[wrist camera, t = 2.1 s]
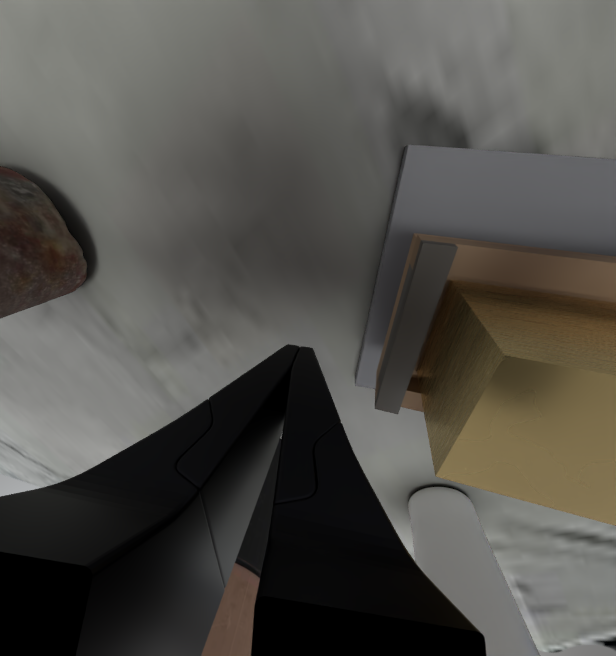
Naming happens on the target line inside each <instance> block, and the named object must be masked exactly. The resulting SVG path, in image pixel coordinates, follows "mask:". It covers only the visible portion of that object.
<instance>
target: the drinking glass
mask: <svg viewBox="0 0 616 656" xmlns="http://www.w3.org/2000/svg"><path fill="white" fill-rule="evenodd" d="M408 510H409V516H410V522H411V528H412V537H413V547H414V557H415V562H416V564H417V565H418V566H419V567H420V569H421V570H422V571H423V572H424V574H425V575H426V576H427V577H428V578H429V579H430V580H431V581H432V582H433V583H434V584H435V585H436V586H437V587H438V588H439V590H440V591H441V592H442V593H443V594H444V595H445V596H446V597H447V598H448V599H449V600H450V601H451V602H452V603H453V604H454V605H455V606H456V607H457V608H458V609H459V610H460V611H461V612H462V613H463V614H464V615H465V617H466V618H467V619H468V620H469V621H470V622H471V623H472V624H473V625H474V626H475V627H476V628H477V629H478V630H479V631H480V632H481V633H482V634H483V635H484V638H485V645H486V656H540V654H539V652H538V650H537V648H536V645H535V643H534V641H533V639H532V637H531V634H530V632H529V630H528V628H527V626H526V623H525V621H524V619H523V617H522V615H521V613H520V610H519V608H518V606H517V604H516V602H515V599H514V597H513V595H512V593H511V591H510V588H509V586H508V584H507V582H506V580H505V577H504V575H503V573H502V571H501V568H500V566H499V564H498V562H497V560H496V557H495V555H494V553H493V551H492V548H491V546H490V544H489V542H488V540H487V537H486V535H485V533H484V530H483V528H482V526H481V523H480V520H479V518H478V515H477V512H476V510H475V507H474V505H473V503H472V502H471V500H470V499H469V498H468V497H467V496H466V495H464V494H463V493H461V492H459V491H457V490H455V489H451V488H446V487H429V488H424V489H421V490H419V491H417V492H416V493H414V494H413V495H412V496H411V498H410V500H409V503H408Z"/></svg>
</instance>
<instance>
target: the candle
mask: <svg viewBox="0 0 616 656" xmlns="http://www.w3.org/2000/svg"><path fill="white" fill-rule="evenodd" d="M86 270H87V263H86V260H85V259H84V258H83V251H82V249H81V247H80V246H79V244H78V242H77V241H76V240H75V239H74V238H73V236H72V235H71V234H70V233H69V231H68V229H67V227H66V222H65V221H64V219H63V218H62V217H61V215H60V214H59V212H58V211H57V210H56V208H55V206H54V204H53V203H52V202H51V200H50V199H49V198H48V197H47V195H46V194H45V193H44V192H43V191H42V190H41V189H40V187H38V186H37V185H36V184H35V183H34V182H32V181H30V180H28V179H26V178H25V177H24V176H22V175H20V174H19V173H17V172H15V171H13V170H11V169H8V168H4V167H1V166H0V318H3V317H5V316H8V315H11V314H14V313H16V312H19V311H22V310H25V309H28V308H30V307H33V306H36V305H39V304H42V303H44V302H47V301H49V300H52V299H55V298H58V297H60V296H63V295H66V294H68V293H71V292H73V291H75V290H76V289H77V288H78V287H79V286H81V285H82V284H83V282H84V281H85V280H86V276H87V273H86Z"/></svg>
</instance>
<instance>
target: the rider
mask: <svg viewBox="0 0 616 656" xmlns="http://www.w3.org/2000/svg"><path fill="white" fill-rule="evenodd" d="M417 376H418V382H419V387H420V393H421V398H422V404H423V410H424V415H425V421H426V426H427V432H428V437H429V443H430V448H431V454H432V459H433V465H434V470H435V476H436V477H439V478H443V479H447V480H450V481H454V482H458V483H461V484H465V485H469V486H472V487H476V488H480V489H483V490H487V491H491V492H494V493H498V494H501V495H505V496H509V497H512V498H516V499H520V500H523V501H527V502H531V503H534V504H538V505H542V506H545V507H549V508H553V509H556V510H560V511H564V512H567V513H571V514H575V515H578V516H582V517H586V518H589V519H593V520H597V521H600V522H604V523H608V524H611V525H615V526H616V303H613V302H606V301H599V300H592V299H585V298H578V297H571V296H564V295H557V294H550V293H543V292H536V291H529V290H522V289H515V288H508V287H501V286H494V285H487V284H480V283H473V282H466V281H459V280H453V279H450V282H449V285H448V288H447V290H446V293H445V296H444V298H443V301H442V304H441V307H440V309H439V312H438V315H437V317H436V320H435V323H434V325H433V328H432V331H431V334H430V336H429V339H428V342H427V344H426V347H425V350H424V353H423V355H422V358H421V361H420V363H419V366H418V369H417Z"/></svg>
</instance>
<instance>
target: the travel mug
mask: <svg viewBox="0 0 616 656" xmlns="http://www.w3.org/2000/svg"><path fill="white" fill-rule="evenodd" d="M280 448H281V440H280V439H279V442H278V445H277V448H276V450H275V453H274V456H273V459H272V461H271V464H270V467H269V470H268V472H267V475H266V478H265V481H264V483H263V486H262V489H261V492H260V494H259V497H258V500H257V503H256V505H255V508H254V511H253V514H252V516H251V519H250V522H249V525H248V528H247V530H246V533H245V536H244V539H243V541H242V544H241V547H240V550H239V552H238V555H237V558H236V561H235V563H234V566H233V569H232V572H231V574H230V577H229V580H228V583H227V585H226V587H225V588H224V589H225V591H224V594H223V597H222V600H221V602H220V605H219V608H218V611H217V613H216V616H215V619H214V622H213V624H212V627H211V630H210V633H209V635H208V638H207V641H206V644H205V646H204V649H203V652H202V655H201V656H251V646H252V633H253V619H254V605H255V600H256V595H257V590H258V586H259V581H260V576H261V571H262V566H263V561H264V556H265V551H266V546H267V541H268V534H269V528H270V522H271V515H272V509H273V500H274V492H275V485H276V477H277V470H278V463H279V455H280Z"/></svg>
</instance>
